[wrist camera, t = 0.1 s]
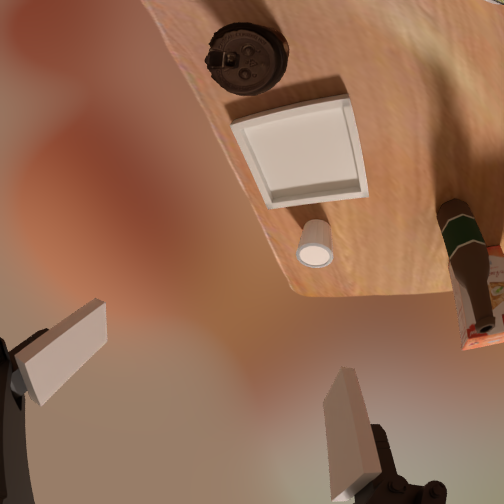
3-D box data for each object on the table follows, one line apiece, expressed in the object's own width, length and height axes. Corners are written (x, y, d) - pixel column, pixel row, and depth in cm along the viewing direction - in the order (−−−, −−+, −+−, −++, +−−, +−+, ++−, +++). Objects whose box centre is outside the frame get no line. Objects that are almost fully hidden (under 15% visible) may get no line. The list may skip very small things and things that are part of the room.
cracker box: (500, 242, 40) (526, 326, 27) (495, 260, 44) (516, 340, 31) (449, 250, 47) (468, 340, 34) (447, 268, 51) (461, 352, 37)
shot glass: (333, 243, 55) (331, 270, 50) (300, 240, 56) (296, 266, 52) (335, 218, 50) (334, 245, 45) (300, 215, 51) (295, 241, 47)
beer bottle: (436, 198, 39) (471, 319, 24) (471, 196, 36) (516, 311, 21) (434, 230, 45) (457, 344, 29) (466, 227, 41) (497, 337, 26)
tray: (234, 119, 39) (229, 125, 38) (348, 93, 32) (349, 98, 30) (270, 201, 50) (268, 209, 49) (367, 188, 43) (369, 196, 41)
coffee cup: (223, 46, 30) (182, 60, 22) (266, 10, 25) (239, 5, 17) (265, 85, 34) (240, 114, 26) (309, 53, 29) (303, 67, 20)
